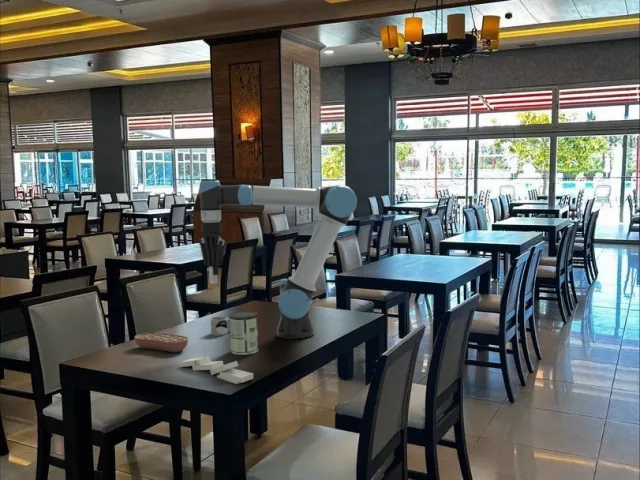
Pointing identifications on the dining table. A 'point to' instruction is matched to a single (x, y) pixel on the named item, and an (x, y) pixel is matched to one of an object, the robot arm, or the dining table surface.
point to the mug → (219, 326)
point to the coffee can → (244, 332)
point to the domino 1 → (195, 361)
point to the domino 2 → (208, 365)
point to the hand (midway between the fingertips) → (213, 283)
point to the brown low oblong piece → (161, 341)
